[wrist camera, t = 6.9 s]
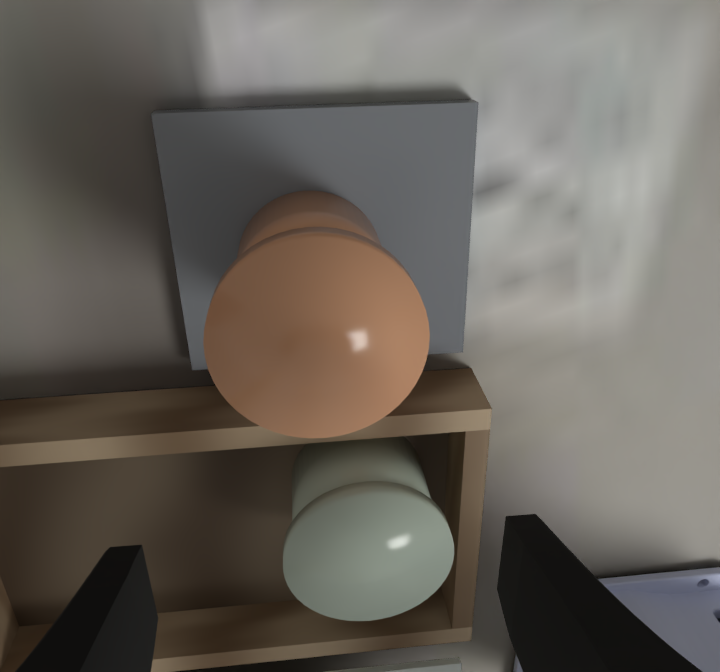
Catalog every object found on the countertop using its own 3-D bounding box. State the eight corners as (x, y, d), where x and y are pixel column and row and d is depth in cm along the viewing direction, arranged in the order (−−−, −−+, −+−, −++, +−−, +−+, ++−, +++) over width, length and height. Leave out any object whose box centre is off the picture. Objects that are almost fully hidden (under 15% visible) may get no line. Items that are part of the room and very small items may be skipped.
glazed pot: (430, 409, 23) (458, 487, 19) (426, 524, 25) (450, 612, 22) (277, 420, 22) (276, 502, 19) (288, 536, 25) (288, 628, 21)
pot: (403, 181, 19) (444, 243, 14) (386, 339, 21) (415, 438, 16) (222, 171, 18) (199, 233, 13) (225, 335, 21) (207, 438, 16)
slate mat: (472, 99, 19) (478, 102, 18) (458, 344, 22) (462, 352, 22) (155, 110, 18) (151, 113, 17) (194, 361, 22) (192, 370, 21)
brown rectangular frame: (471, 367, 23) (519, 464, 18) (447, 710, 32) (475, 835, 27) (-82, 405, 21) (-189, 522, 16) (57, 754, 30) (14, 894, 25)
